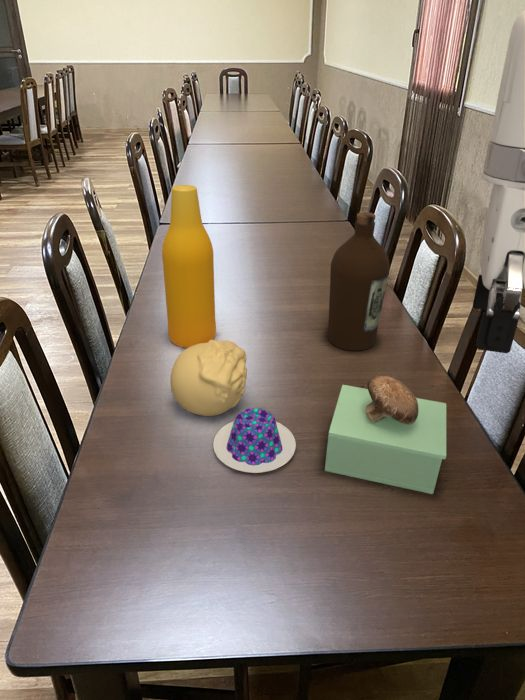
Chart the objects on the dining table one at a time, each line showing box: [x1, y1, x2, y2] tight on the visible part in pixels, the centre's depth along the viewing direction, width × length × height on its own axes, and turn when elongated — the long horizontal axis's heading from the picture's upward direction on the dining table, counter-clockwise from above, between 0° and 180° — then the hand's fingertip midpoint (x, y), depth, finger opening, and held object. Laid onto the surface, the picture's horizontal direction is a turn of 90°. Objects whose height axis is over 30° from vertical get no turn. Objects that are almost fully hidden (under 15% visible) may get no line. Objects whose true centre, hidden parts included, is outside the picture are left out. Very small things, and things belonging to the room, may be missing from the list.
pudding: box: [212, 407, 297, 474], centre depth 77 cm, size 12×12×5 cm
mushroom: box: [366, 375, 418, 425], centre depth 73 cm, size 8×8×6 cm
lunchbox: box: [324, 436, 443, 495], centre depth 76 cm, size 15×12×6 cm
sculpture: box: [169, 339, 248, 417], centre depth 84 cm, size 11×12×11 cm
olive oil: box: [327, 211, 390, 352], centre depth 100 cm, size 11×11×25 cm
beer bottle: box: [161, 184, 217, 349], centre depth 98 cm, size 9×9×29 cm
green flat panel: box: [327, 384, 447, 460], centre depth 74 cm, size 15×12×1 cm
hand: (489, 328), depth 58 cm, fingers open, 9 cm apart
